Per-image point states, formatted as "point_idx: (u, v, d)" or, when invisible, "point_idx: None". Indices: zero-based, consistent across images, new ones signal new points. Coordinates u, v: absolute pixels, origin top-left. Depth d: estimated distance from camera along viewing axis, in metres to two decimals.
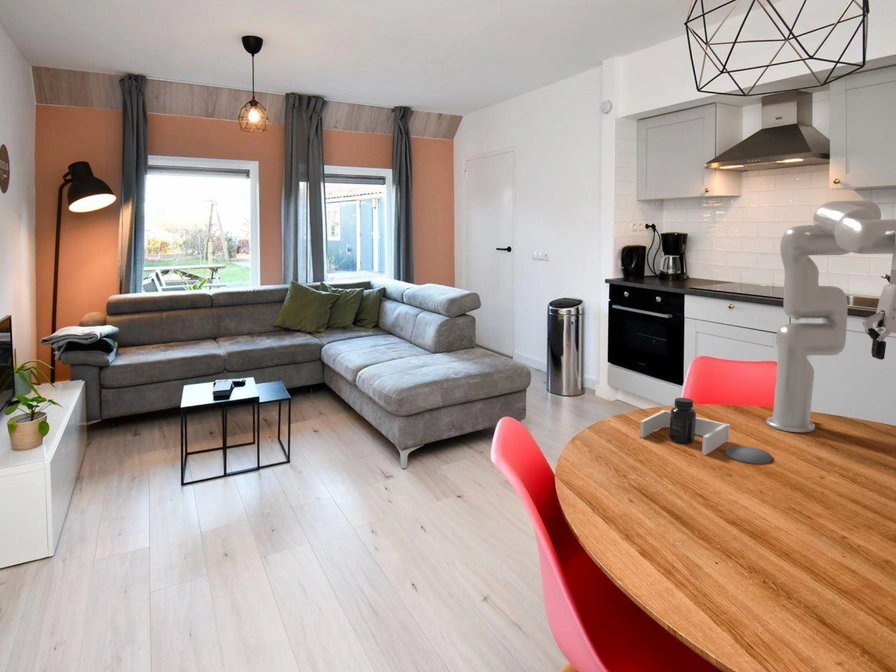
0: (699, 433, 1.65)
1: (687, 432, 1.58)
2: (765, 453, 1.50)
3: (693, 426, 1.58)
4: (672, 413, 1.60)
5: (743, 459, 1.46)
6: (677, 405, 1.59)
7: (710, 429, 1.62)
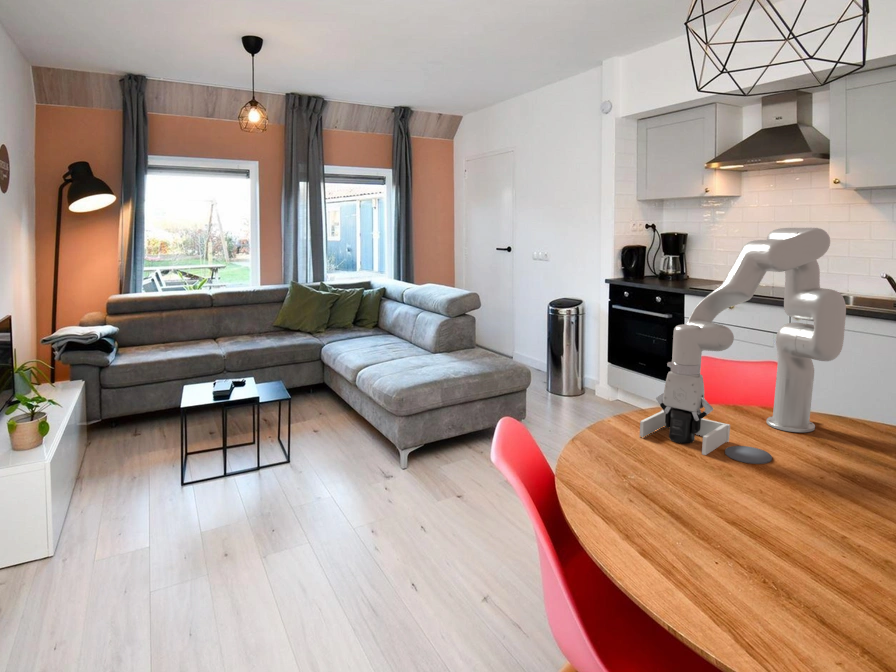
0: (699, 433, 1.65)
1: (687, 432, 1.58)
2: (765, 453, 1.50)
3: None
4: (672, 413, 1.60)
5: (743, 459, 1.46)
6: None
7: (710, 429, 1.62)
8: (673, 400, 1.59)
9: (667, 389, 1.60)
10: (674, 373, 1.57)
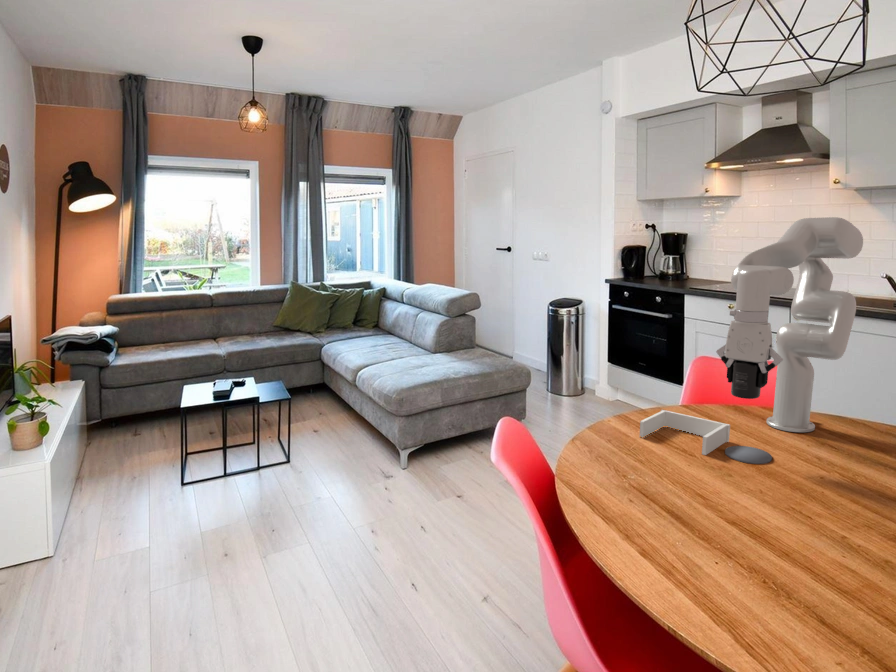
0: (699, 433, 1.65)
1: (752, 386, 1.45)
2: (765, 453, 1.50)
3: None
4: (735, 366, 1.47)
5: (743, 459, 1.46)
6: None
7: (710, 429, 1.62)
8: (737, 351, 1.46)
9: (730, 340, 1.47)
10: (739, 321, 1.44)
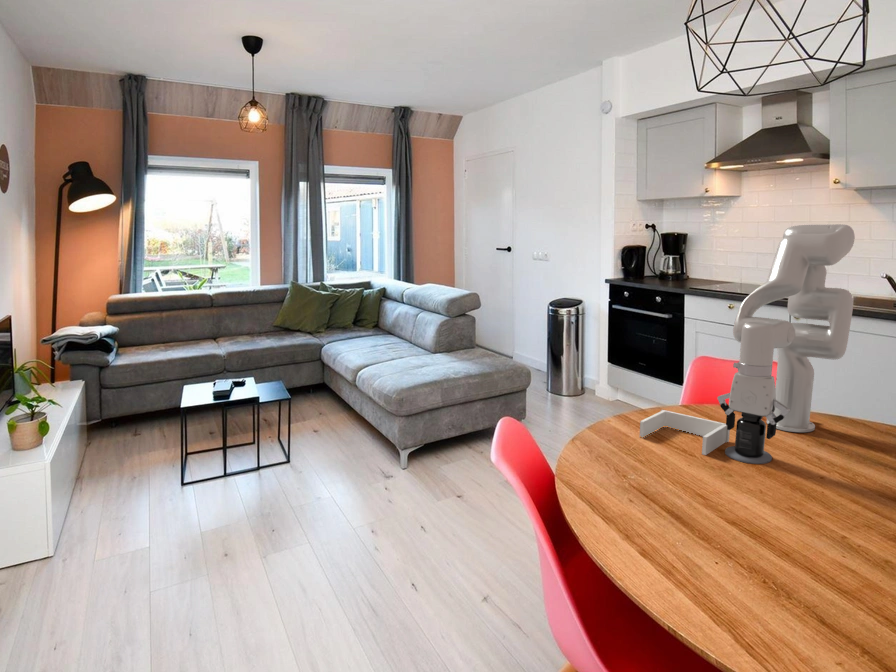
0: (699, 433, 1.65)
1: (756, 445, 1.46)
2: (765, 453, 1.50)
3: (763, 439, 1.46)
4: (739, 424, 1.48)
5: (743, 459, 1.46)
6: (745, 416, 1.47)
7: (710, 429, 1.62)
8: (741, 404, 1.47)
9: (734, 392, 1.48)
10: (743, 374, 1.45)
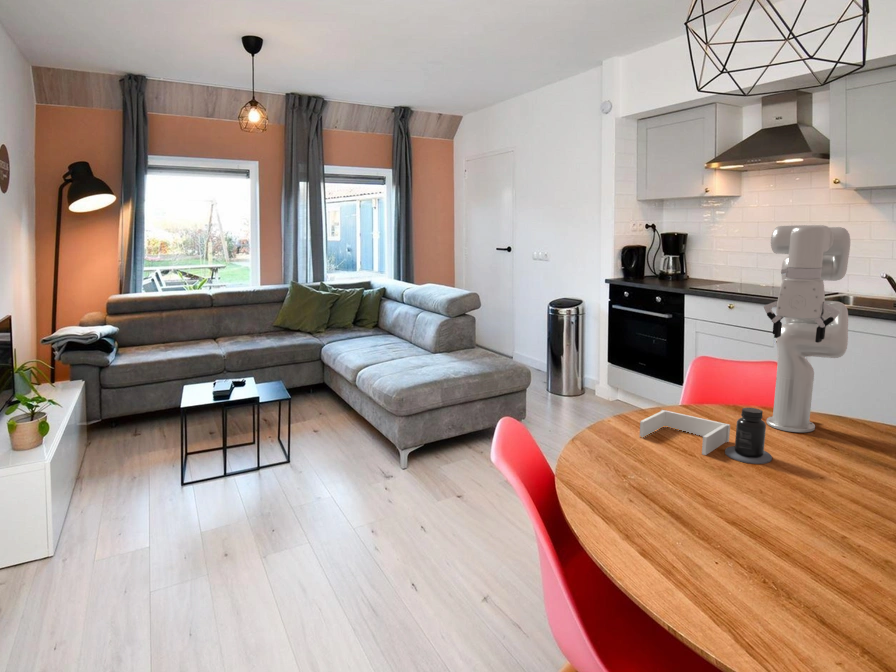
0: (699, 433, 1.65)
1: (756, 445, 1.46)
2: (765, 453, 1.50)
3: (763, 439, 1.46)
4: (739, 424, 1.48)
5: (743, 459, 1.46)
6: (745, 416, 1.47)
7: (710, 429, 1.62)
8: (789, 309, 1.47)
9: (782, 298, 1.48)
10: (792, 279, 1.45)
